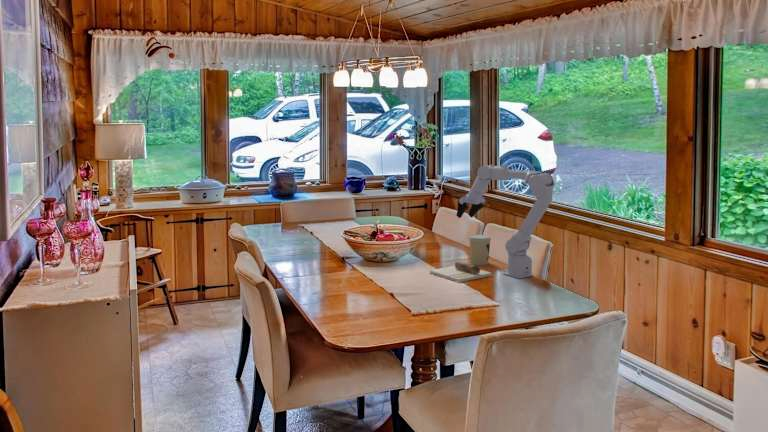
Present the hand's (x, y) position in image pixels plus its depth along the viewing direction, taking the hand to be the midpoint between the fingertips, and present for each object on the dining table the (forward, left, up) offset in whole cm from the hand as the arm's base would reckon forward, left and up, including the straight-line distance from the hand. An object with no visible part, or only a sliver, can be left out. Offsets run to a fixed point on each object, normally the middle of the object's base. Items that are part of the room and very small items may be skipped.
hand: (464, 216), depth 295 cm
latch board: (-12, +13, -21) cm, 28 cm away
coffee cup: (-2, -8, -22) cm, 23 cm away
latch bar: (-14, +10, -20) cm, 26 cm away
